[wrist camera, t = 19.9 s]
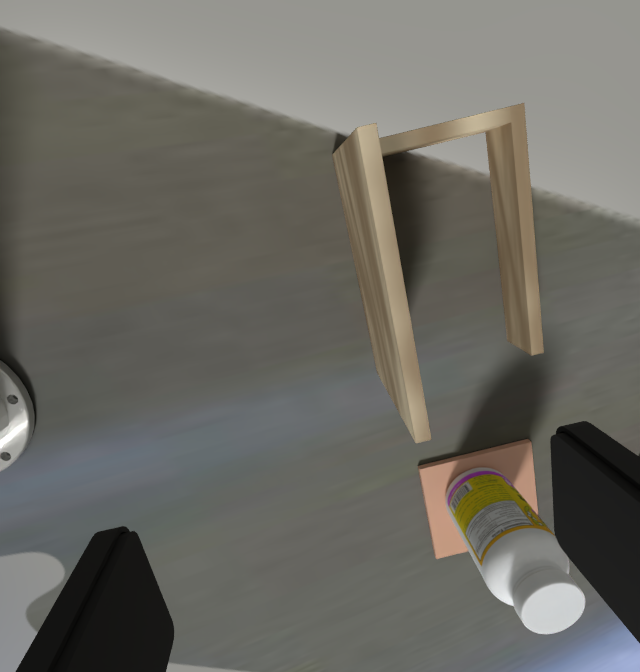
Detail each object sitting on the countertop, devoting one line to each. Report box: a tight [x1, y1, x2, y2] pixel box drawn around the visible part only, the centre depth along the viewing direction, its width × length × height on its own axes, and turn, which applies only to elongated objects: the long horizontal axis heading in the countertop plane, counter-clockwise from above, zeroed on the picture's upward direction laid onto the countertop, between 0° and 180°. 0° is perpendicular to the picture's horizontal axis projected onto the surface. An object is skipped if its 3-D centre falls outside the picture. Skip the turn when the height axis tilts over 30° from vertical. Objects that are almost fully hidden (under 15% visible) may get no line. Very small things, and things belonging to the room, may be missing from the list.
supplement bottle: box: [445, 467, 585, 634], centre depth 36 cm, size 7×7×13 cm
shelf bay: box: [332, 103, 544, 443], centre depth 30 cm, size 13×18×12 cm
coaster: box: [418, 439, 538, 559], centre depth 43 cm, size 11×11×1 cm
